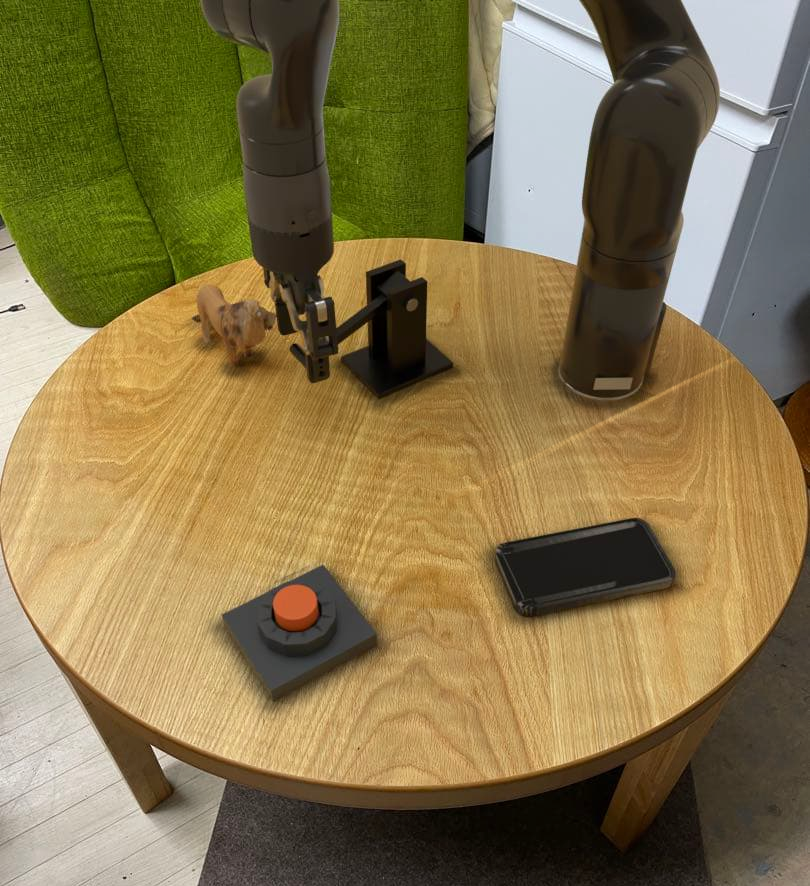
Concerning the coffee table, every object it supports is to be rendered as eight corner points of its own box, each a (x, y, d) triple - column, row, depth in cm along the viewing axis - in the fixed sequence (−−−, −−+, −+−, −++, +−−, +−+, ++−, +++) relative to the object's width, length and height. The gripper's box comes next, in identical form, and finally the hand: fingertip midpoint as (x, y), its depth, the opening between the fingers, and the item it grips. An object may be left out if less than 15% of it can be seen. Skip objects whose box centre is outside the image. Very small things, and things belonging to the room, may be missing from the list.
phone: (492, 544, 80) (643, 515, 82) (491, 552, 80) (641, 523, 83) (520, 612, 75) (680, 579, 77) (519, 620, 75) (677, 587, 78)
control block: (324, 576, 79) (321, 551, 76) (377, 645, 74) (376, 621, 71) (224, 626, 75) (217, 601, 72) (273, 702, 70) (268, 679, 68)
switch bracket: (378, 403, 94) (376, 310, 85) (341, 365, 99) (334, 273, 90) (453, 371, 98) (458, 279, 89) (413, 335, 102) (414, 244, 93)
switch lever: (317, 383, 89) (308, 368, 87) (294, 358, 92) (284, 343, 90) (423, 303, 91) (417, 286, 89) (397, 280, 93) (390, 264, 91)
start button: (305, 590, 74) (303, 577, 72) (326, 619, 72) (325, 606, 70) (267, 609, 72) (265, 596, 71) (288, 639, 70) (286, 626, 69)
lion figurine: (289, 367, 98) (280, 299, 92) (252, 389, 96) (240, 320, 89) (210, 313, 105) (197, 246, 98) (174, 332, 103) (157, 264, 96)
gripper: (224, 179, 80) (247, 326, 92) (276, 256, 72) (293, 406, 84) (300, 164, 82) (312, 309, 95) (359, 236, 74) (364, 386, 86)
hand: (303, 355), depth 89 cm, fingers open, 8 cm apart
